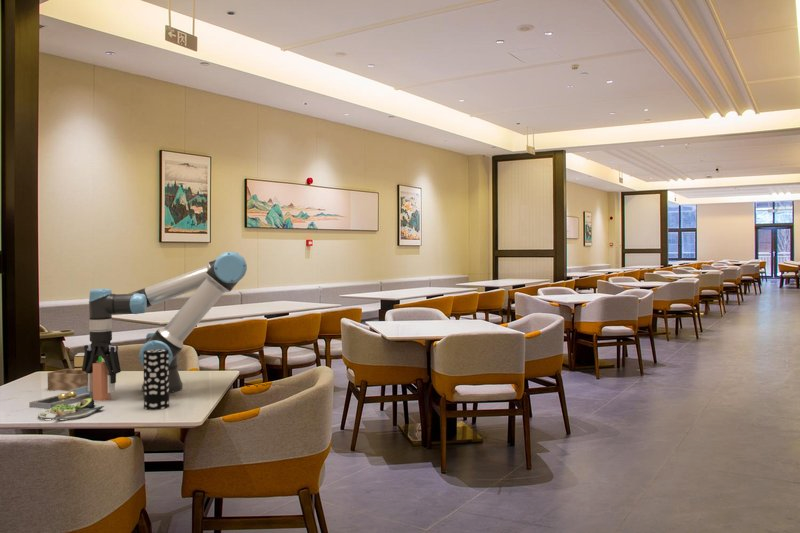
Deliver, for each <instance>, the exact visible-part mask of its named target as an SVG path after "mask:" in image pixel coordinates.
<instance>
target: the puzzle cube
mask: <svg viewBox="0 0 800 533" xmlns="http://www.w3.org/2000/svg"><path fill="white" fill-rule="evenodd" d="M84 353H85V352H78V353H76V354H75V355H74V356H73V369H76V370H82V366H83V359H84ZM102 360H103V358H102V356H99V357H98V360H97V362H103V361H102Z"/></svg>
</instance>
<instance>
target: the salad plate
mask: <svg viewBox="0 0 800 533" xmlns="http://www.w3.org/2000/svg"><path fill="white" fill-rule="evenodd" d="M103 408H105V405H101V406H99V405H98V404H95V400H93V398H87V399H84V400H82V401H80V402H77V404H68V405H67V404H62V405H56V406H55V407H52V408H50V409H46V410H45V411H42V412H40V413H38V415H37V417H38V418H40V419H41V420H43V419H51V420H58V419H70V420H75V419H76V418H77V419H82V418H85V417H88V416H90V415H93V414H95V413H96V412H98V411H100V410H101V409H103ZM48 414H56V415H57V416H47V415H48Z"/></svg>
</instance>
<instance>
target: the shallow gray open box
mask: <svg viewBox="0 0 800 533" xmlns="http://www.w3.org/2000/svg"><path fill="white" fill-rule="evenodd" d="M68 393H69V392H67V393H65V394H68ZM59 395H60V394H58V395H54V396H50V397H46V398H41V399H38V400H34V401H30V402H29V406H28V407H29V408H36V409H44V410H49V409H50V408H52V407H55V406H56V405H62V404H67V405H73V404H75V403H80V401H82V400H84V399H87V398H90V394H85V395H81V396H77V397H73V398H69V399H65V400H61V401H59V400H58V396H59Z"/></svg>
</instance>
